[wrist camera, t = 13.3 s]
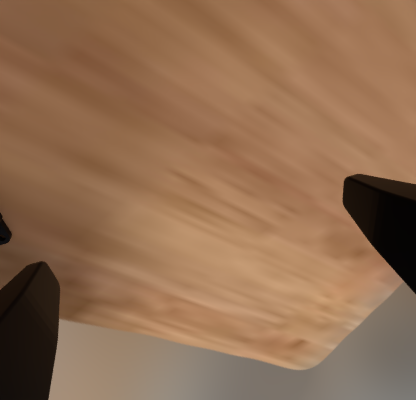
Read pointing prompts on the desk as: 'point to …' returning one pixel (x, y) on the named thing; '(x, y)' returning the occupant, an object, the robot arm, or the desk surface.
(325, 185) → the desk surface
